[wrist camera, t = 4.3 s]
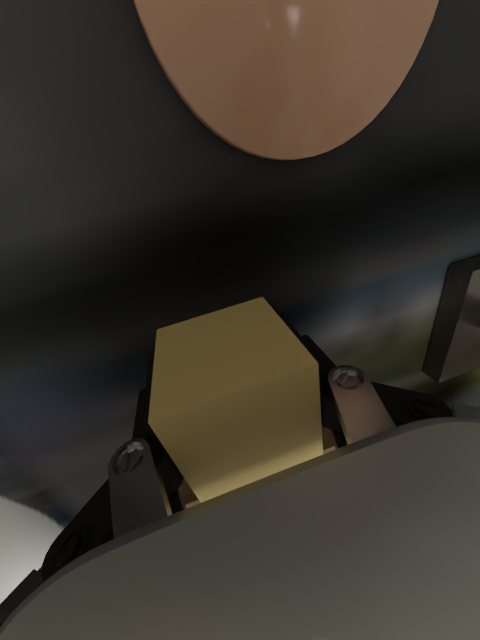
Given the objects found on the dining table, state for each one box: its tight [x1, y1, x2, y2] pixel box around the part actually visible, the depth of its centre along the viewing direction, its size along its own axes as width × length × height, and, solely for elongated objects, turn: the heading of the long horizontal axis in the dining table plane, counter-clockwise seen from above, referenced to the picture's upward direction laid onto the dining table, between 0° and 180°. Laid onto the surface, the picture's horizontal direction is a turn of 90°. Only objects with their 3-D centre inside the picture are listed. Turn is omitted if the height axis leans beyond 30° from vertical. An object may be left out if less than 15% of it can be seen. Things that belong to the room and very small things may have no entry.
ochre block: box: [148, 297, 323, 503], centre depth 10 cm, size 5×5×5 cm
